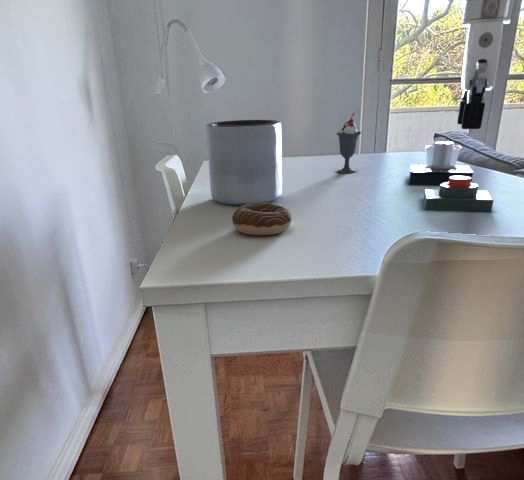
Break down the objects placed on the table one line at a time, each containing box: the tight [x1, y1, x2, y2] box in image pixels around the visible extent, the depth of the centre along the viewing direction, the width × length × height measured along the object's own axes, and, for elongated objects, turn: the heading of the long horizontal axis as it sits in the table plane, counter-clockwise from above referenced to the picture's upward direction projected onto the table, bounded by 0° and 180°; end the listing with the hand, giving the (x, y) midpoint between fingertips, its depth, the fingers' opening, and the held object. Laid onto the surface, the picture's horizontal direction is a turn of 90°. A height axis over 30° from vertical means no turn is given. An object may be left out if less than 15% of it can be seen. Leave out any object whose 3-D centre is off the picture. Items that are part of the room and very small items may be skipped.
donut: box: [231, 202, 293, 236], centre depth 82 cm, size 11×11×4 cm
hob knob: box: [431, 140, 454, 170], centre depth 113 cm, size 4×4×6 cm
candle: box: [425, 144, 462, 166], centre depth 126 cm, size 9×9×6 cm
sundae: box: [335, 112, 362, 174], centre depth 129 cm, size 7×7×15 cm
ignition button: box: [448, 176, 472, 187], centre depth 92 cm, size 4×4×2 cm
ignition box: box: [423, 182, 494, 213], centre depth 93 cm, size 12×9×4 cm
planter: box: [205, 119, 284, 206], centre depth 102 cm, size 16×16×16 cm
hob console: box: [408, 164, 474, 186], centre depth 116 cm, size 14×10×3 cm
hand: (468, 126), depth 88 cm, fingers open, 9 cm apart
